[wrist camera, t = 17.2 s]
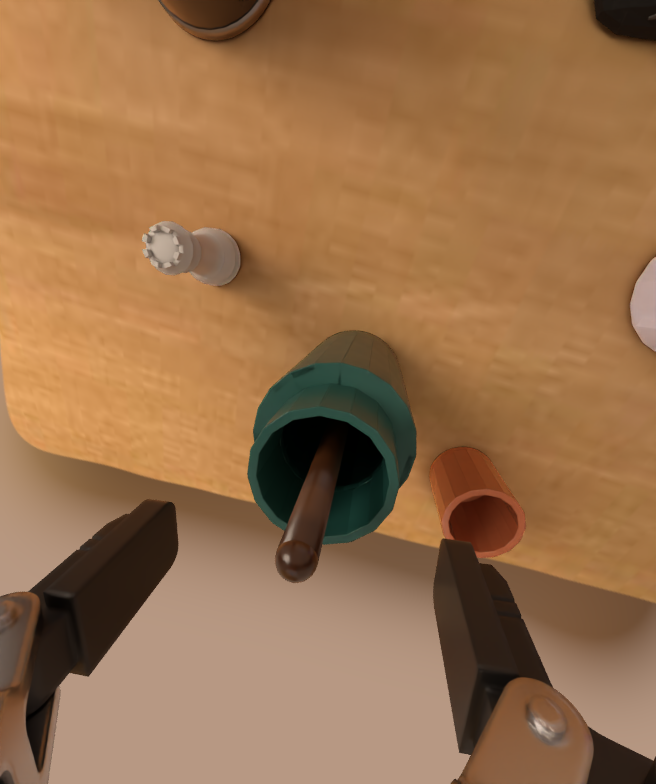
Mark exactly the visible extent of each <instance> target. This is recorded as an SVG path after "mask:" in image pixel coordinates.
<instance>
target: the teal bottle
mask: <svg viewBox="0 0 656 784" xmlns="http://www.w3.org/2000/svg"><path fill="white" fill-rule="evenodd" d="M330 418H331V419H336V420H340V421H345V422H348V423H349V424H350V426H349V430H348V434H347V439H346V443H345V447H344V452H343V456H342V461H341V465H340V469H339V474H338V478H337V482H336V487H335V491H334V495H333V500H332V504H331V508H330V513H329V517H328V521H327V526H326V530H325V534H324V539H323V543H322V544H324V545H325V544H337V543H348V542H352V541H354V540H356V539H358V538H360V537H362V536H365V535H366V534H369V533H371V532H373V531H374V530H376V529H377V528H378V526H379V525H380V524H381V523H382V522H383V521H384V519H385V518H386V517H387V516H388V515H389V514H390V512H391V511H392V510H393V507H394V504H395V500H396V496H397V493H398V489H399V488H400V487H401V486H402V484H403V483H404V482H405V481H406V480H407V478H408V476H409V474H410V471H411V468H412V466H413V463H414V460H415V458H416V427H415V423H414V420H413V416H412V412H411V408H410V404H409V400H408V396H407V392H406V388H405V385H404V381H403V377H402V373H401V369H400V366H399V363H398V361H397V358H396V356H395V354H394V352H393V351H392V350H391V348H390V347H389V346H388V345H387V344H386V343H385V342H384V341H382V340H381V339H380V338H378V337H376V336H375V335H372V334H370V333H367V332H363V331H344V332H341V333H337V334H335V335H333V336H331V337H329V338H327V339H326V340H325V341H324V342H322V343H321V344H320V345H319V346H317V347H316V348H315V349H314V350H313V351H312V352H311V353H309V354H308V355H307V356H306V357H305V358H304V359H303V360H301V361H300V362H299V363H298V364H297V365H296V366H295V367H293V368H292V369H291V370H290V371H289V372H288V373H287V374H286V375H284V376H283V377H282V378H281V379H280V380H279V381H278V382H276V383H275V384H274V385H273V386H272V387H271V388H270V389H269V391H268V393H267V394H266V396H265V397H264V399H263V401H262V402H261V404H260V406H259V407H258V410H257V415H256V420H255V424H254V429H253V434H254V444H253V446H252V447H251V450H250V457H249V465H248V473H247V475H248V479H249V483H250V486H251V489H252V493H253V496H254V500H255V502H256V503H257V504H258V506H259V507H260V508H261V509H262V511H263V512H264V513H265V514H266V516H267V517H268V518H269V520H270V521H271V522H272V523H273V524H275V525H276V526H278V527H280V528H281V529H282V530H284V531H285V529H286V526H287V524H288V521H289V519H290V516H291V514H292V511H293V509H294V506H295V504H296V501H297V499H298V496H299V494H300V491H301V489H302V486H303V484H304V481H305V479H306V476H307V474H308V471H309V469H310V466H311V464H312V461H313V459H314V456H315V454H316V451H317V449H318V446H319V444H320V441H321V439H322V436H323V434H324V431H325V429H326V426H327V424H328V421H329V419H330Z"/></svg>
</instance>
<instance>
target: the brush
mask: <svg viewBox="0 0 656 784" xmlns="http://www.w3.org/2000/svg"><path fill="white" fill-rule="evenodd" d="M349 426H350V424H349V423H348V422H345V421H340V420H336V419H331V418H330V419H329V421H328V424H327V426H326V429H325V431H324V434H323V436H322V439H321V441H320V444H319V446H318V449H317V451H316V454H315V456H314V459H313V461H312V464H311V466H310V469H309V471H308V474H307V476H306V479H305V481H304V484H303V486H302V489H301V491H300V494H299V496H298V499H297V501H296V504H295V506H294V509H293V511H292V514H291V516H290V519H289V521H288V524H287V526H286V529H285V531H284V534H283V537H282V539H281V541H280V544H279V547H278V549H277V552H276V556H275V564H276V568H277V571H278V572H279V574H280V575H281V576H282V577H283V578H284V579H285V580H287V581H289V582H292V583H299V582H303V581H305V580H307V579H308V578H310V577H311V576H312V575H313V573H314V572H315V570H316V567H317V565H318V561H319V556H320V552H321V547H322V543H323V539H324V534H325V530H326V526H327V521H328V517H329V513H330V508H331V504H332V500H333V495H334V491H335V487H336V482H337V478H338V474H339V469H340V465H341V461H342V456H343V452H344V447H345V443H346V439H347V434H348V430H349Z"/></svg>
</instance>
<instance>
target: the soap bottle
mask: <svg viewBox="0 0 656 784" xmlns="http://www.w3.org/2000/svg"><path fill="white" fill-rule="evenodd" d="M630 310H631V320H632V325H633V327H634V329H635V331H636V332H637V334H638V336H639V337H640V339H641V341H642V342H643V343H644V344H645V345H647V346H648V347H649V348H651V349H652V350H654V351H655V352H656V257H655V258H653V259H652V260H651V261H650V262H649V264H648V265H647V267H646V268H645V270H644V271H643V273H642V274H641V276H640V277H639V279H638V280H637V282H636V284H635V288H634V291H633V295H632V298H631V302H630Z"/></svg>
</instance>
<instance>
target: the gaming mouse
mask: <svg viewBox="0 0 656 784" xmlns="http://www.w3.org/2000/svg"><path fill="white" fill-rule="evenodd" d="M594 4H595V12H596V19H597V20H598V21H600V22H601V23H602V24H603V25H605V26H606V27H607V28H608V29H610V30H611V31H612V32H613V33H615V34H617V35H623V36H629V37H635V38H641V39H648V40H656V0H594Z"/></svg>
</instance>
